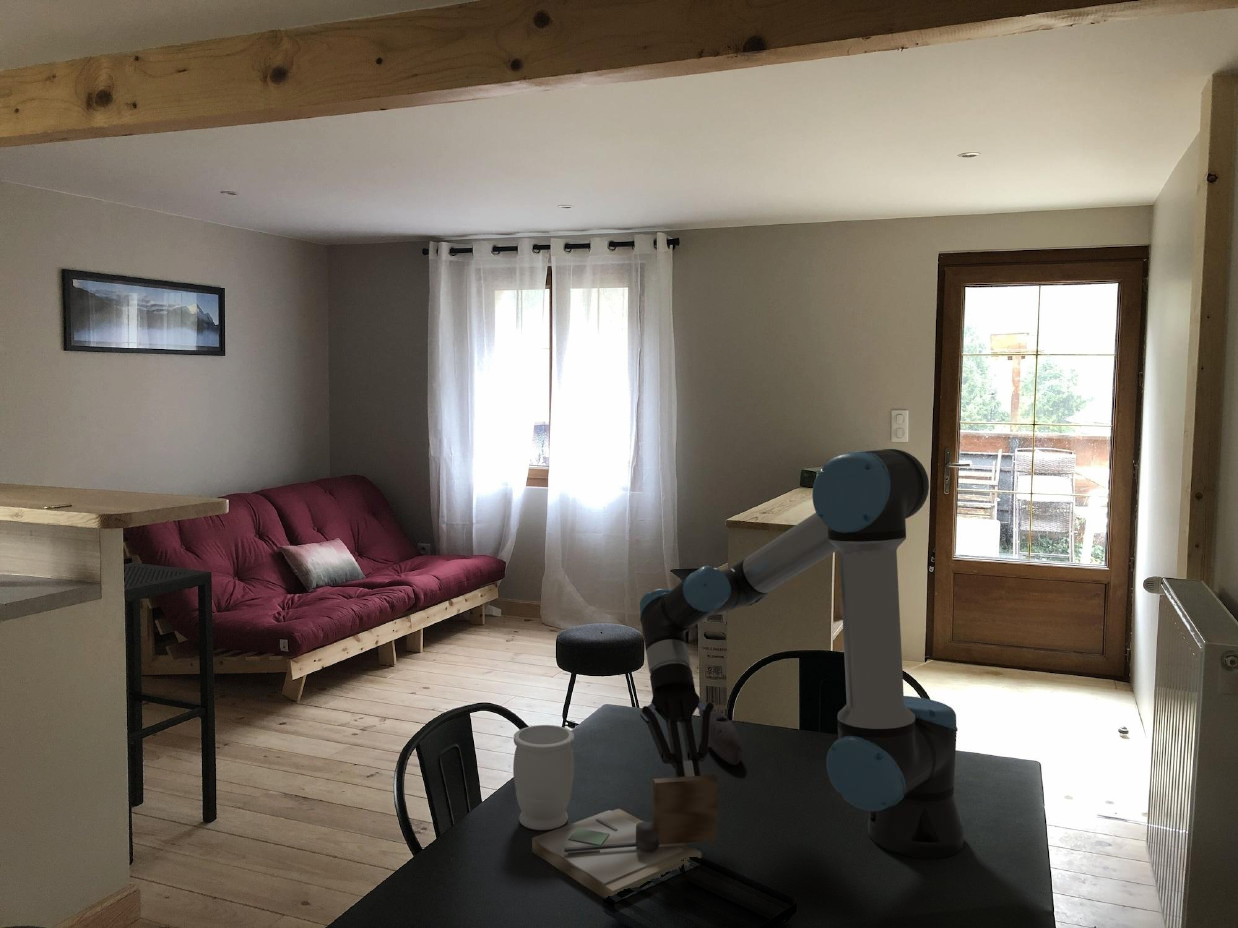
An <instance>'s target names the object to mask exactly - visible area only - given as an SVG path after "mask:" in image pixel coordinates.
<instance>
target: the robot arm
mask: <svg viewBox="0 0 1238 928" xmlns="http://www.w3.org/2000/svg"><path fill="white" fill-rule="evenodd" d="M929 491H930V481H929V476H928V473H927V470H926V469H925V467H924V465H923V464H922V462H921V461H920V460H918V458H917V457H915V456H914V455H913V454H911V453H909V452H907V451H905V450H901V449H898V448H897V449H896V448H883V449H877V450H856V451H849V452H847V453H845V454H840V455H838V456H835V457H833V458H831V459H830V460H828V462H826V463H825V464H824V465H823V466H822V468H821V469H820V470H819V472H818V473H817V475H816V477H815V480H814V482H813V487H812V504H813V507H814V511H815V512H814V513H812V514H811V515H810V516H808V517H806V518H804V520H802V521H800V522H798V523H797V524H796V525H794V526H792V527H791V528H789V529H787V531H785V532H783V533H782V534H780V535H778V536H777V537H776V538H774V539H773V540H771V541H770V542H768V543H767V544H765V545H764V546H762V547H760V548H759V549H757V550H755V551H754V552H753V553H751V554H750V555H748V556H746V557H745V558H744V559H742V560H740V561H739V562H737V563H736V564H734V565H733V566H731V567H729V568H725V569H721V570H720V569H719V568H717V567H713V566H711V565H703V566H701V567H700V568H698V569H697V570H695V571H693V572H691V573H690V574H689V575H688V576H686V578H685V579H684V580H682V581H681V582H680V583H679V584H678V585H676V586H675V587H674V588H673V589H667V588H656V589H654V590H653V591H648V592H646V593H644V595H643V596H642V597H641V599H640V601H639V614H640V617H639V621H640V623H641V629H642V635H643V641H644V646H645V652H646V660H647V666H648V667H647V668H648V672H649V674H650V675H649V680H650V686H651V693H652V698H651V701H650V702H651V703H650V704H649V705H644V706H643V707H642V709H641V712H640V718H641V719H642V720H643V722H645V724H646V726H647V727H648V730H649V732H650V734H651V737H652V740H653V741H654V744H655V746H656V749H657V751H658V754H659V756H660V759H661V762H662V763H663V764H665V765H667V764H670V765H672V767H673V769H674V773H675V777H689V776H701V770H700V766H699V763H700V762H704V761H705V760H706V758H707V755H708V753H709V743H708V738H709V721H710V714H712V713H713V710H714V708H715V705H714V704H713V702H708V703H707V702H704V701H702V700H700V699H701V697H700V696H699V695H698V693H697V691H696V686H695V681H694V675H693V670H692V668H691V667H692V666H691V665H692V664H691V661H690V655H689V649H688V643H687V639H686V632H688V631H689V630H691V629H692V628H694V627H695V626H696V625H697V624H699V623H700V622H701V621H703V620H705V619H706V618H708V617H711V616H714V615H718V614H722V613H726V612H728V611H731V610H735V609H740V608H742V607H750V606H753V605H755V604H757V603H758V602H761V601H763V600H764V599H765V598H766V597H767V595H768V594H769V592H771V591H772V590H774V589H776V588H777V587H779V586H781V585H783V584H784V583H786V582H788V581H789V580H791V579H793V578H794V577H796V576H798V575H799V574H801V573H803V572H804V571H805V570H807V569H809V568H811V567H812V566H814V565H816V564H818V563H819V562H821V561H823V560H824V559H826V558H828V557H829V556H831V555H832V554H834V553H836V552H837V551H838V557H839V559H838V560H839V577H840V578H839V579H840V594H841V616H842V635H843V652H844V653H843V654H844V671H845V672H844V673H845V692H846V694H845V695H846V698H845V699H846V704H845V705H844V706H843V707H842V709H840V710H839V711H838V713H837V717H836V718H837V733H838V734H837V735H838V739H836V740H835V741H834V742H833V744H832V745H831V746H830V748H829V749H828V751H827V755H826V761H825V762H826V763H825V764H826V766H825V767H826V771H827V775H828V778H829V781H830V782H831V784H832V786H833V788H834V790H835V791H836V792H837V793H839V794H840V795H841V796H842V798H843V799H844V800H845V801H846V802H847V803H849V804H850V805H852V806H853V807H856V808H857V809H859V810H860V809H861V810H863V811H868V812H869V815H868V819H867V820H868V821H867V833H868V836H869V837H870V838H871V840H872V841H873V842H874V843H876V844H877V845H879V846H880V847H882V848H884V849H886V850H888V851H891V852H893V853H895V854H899V855H903V856H906V857H911V858H919V859H943V858H947V857H951V856H954V855H955V854H957V853H959V852H960V851H961V850H962V848H963V847H964V836H965V835H964V828H963V824H962V821H961V817H960V814H959V810H958V808H957V807H958V806H957V803H956V801H955V796H954V795H955V792H954V791H955V774H956V772H955V771H956V770H955V769H956V751H957V750H956V749H957V732H958V730H959V729H958V727H957V714H956V712H955V710H954V709H953V708H952V707H951V706H949V705H948V704H945V703H943V702H940V701H937V700H933V699H929V698H924V697H918V696H910V695H905V693H904V675H903V674H904V673H903V656H902V655H903V654H902V653H903V652H902V634H901V615H900V614H901V613H900V594H899V593H900V590H899V574H898V573H899V572H898V556H897V555H898V554H897V551H898V548H899V547H900V546H901V545H902V544H903V543H904V542H905V540H906V539H907V526H906V524H907V523H906V519H909V518H911V517H913V516H914V515H915V514H917V513H918V512H919V511H920V510H921V508H923V506H924V504H925V502H926V501H927V498H928V496H929ZM697 709H698V715H699V716H701V717H700V720H699V731H698V732H699V733H698V749H697V745H696V739H695V734H694V733H695V732H694V729H693V719H692V717H693V715H694V713H695V711H696V710H697ZM656 714H658V715H659V716H660V717H661V718H662V719H663V720H664V721H665V725H666V729H667V732H668V733H667V734H668V740H669V745H668V742H667V740H666V737H665V735H664V732H663V730H662V727H661V725H660V722H659V720H658V718H657V716H656ZM678 723H680V727H681V730H682V736H683V741H684V742H683V743H684V747H685V753H686V760H683V752H682V743H681V740H680V739H681V738H680V733H679V727H678ZM669 746H670V747H669Z"/></svg>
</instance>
